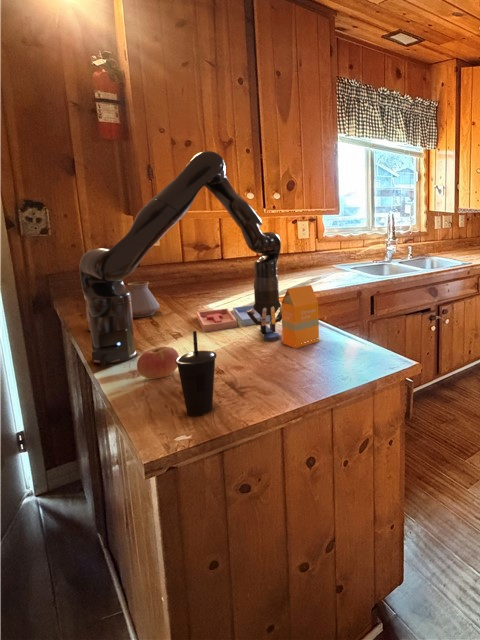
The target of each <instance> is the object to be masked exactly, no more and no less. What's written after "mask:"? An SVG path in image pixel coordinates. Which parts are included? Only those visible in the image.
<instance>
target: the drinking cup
mask: <svg viewBox="0 0 480 640" xmlns="http://www.w3.org/2000/svg"><path fill="white" fill-rule="evenodd" d="M197 332H198V331H197V330H193V331H192V339H193V351H190V352H187V353H185V354H183V355H179V358H177V359H176V361H175V363H176V364H177V365H178V366H177V371H178V375H179V380H180V385H181V390H182V395H183V400H184V405H185V411H186V415H187V416H188V417H201V416H203V415H207V414H209V413H210V412H211V411H212V410H213V404H214V403H213V402H214V388H215V387H214V386H215V368H216V367H215V366H216V358H217V357H218V355H217V353H216V352H215V351H210V350H198V349H199V347H198V334H197Z"/></svg>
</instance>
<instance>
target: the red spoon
mask: <svg viewBox="0 0 480 640" xmlns="http://www.w3.org/2000/svg"><path fill="white" fill-rule="evenodd" d="M220 318H222V314H218V313H216V314H209V315H207V316H206V319H207V320H213V322H214V323H220V322H222V320H221V319H220Z"/></svg>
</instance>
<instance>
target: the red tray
mask: <svg viewBox="0 0 480 640" xmlns="http://www.w3.org/2000/svg"><path fill="white" fill-rule="evenodd" d="M216 313H218V314H222V318H220V319H221V320H222V322H220V323H214V322H213V320H207V319H206V316H207V315H209V314H216ZM196 320H197V321H198V323H199V325H200V327H201V329H202V331H203V332H204V333H206V332H212V331H219V330H225V329H231V328H232V329H233V328H237V327H238V319H237V318H236V316H235V315H234V314H233V313H232V312H231V311H230V310H229V308H228V307H227V308H220V309H213V310H211V309H210V310H205V311H197V312H196Z"/></svg>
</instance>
